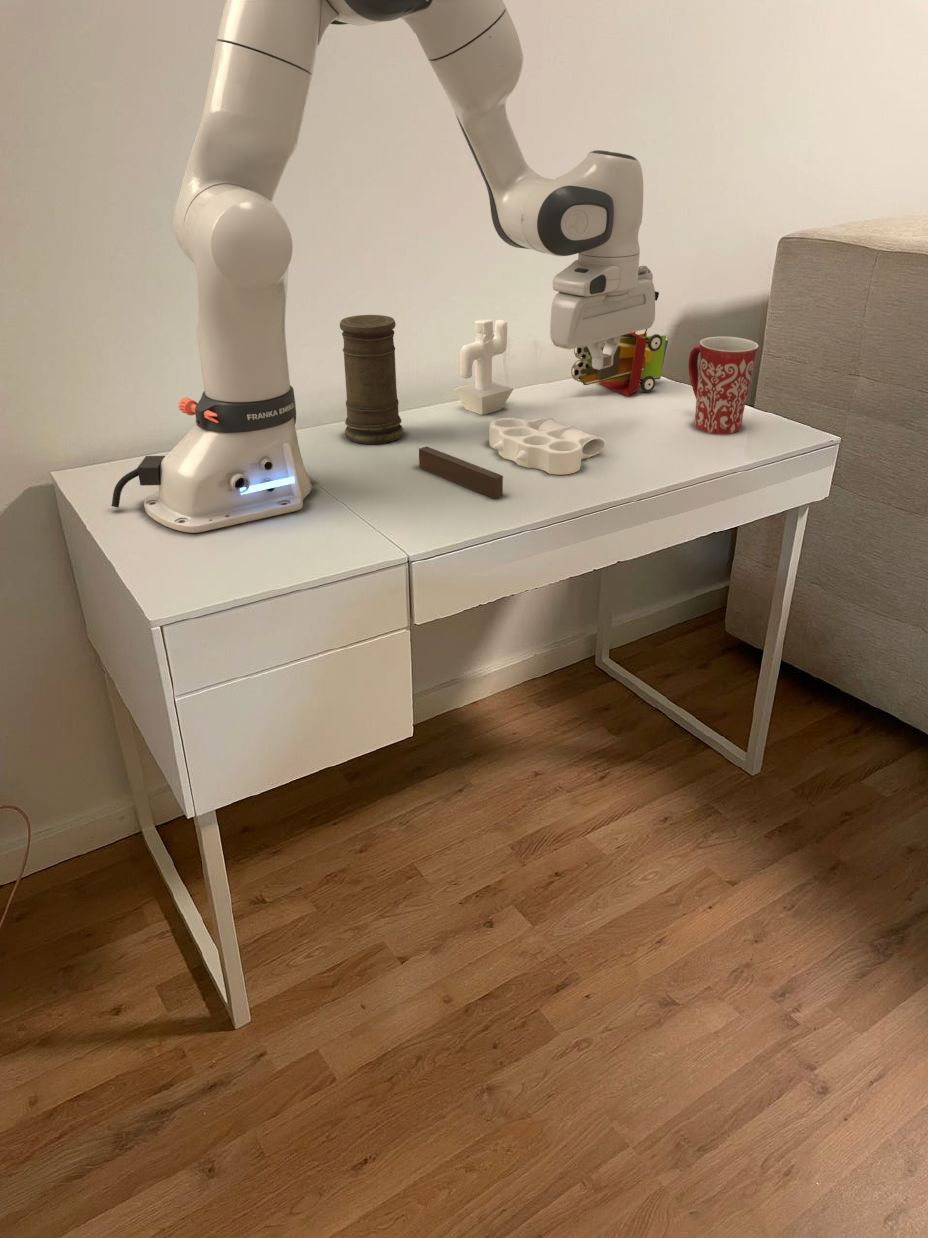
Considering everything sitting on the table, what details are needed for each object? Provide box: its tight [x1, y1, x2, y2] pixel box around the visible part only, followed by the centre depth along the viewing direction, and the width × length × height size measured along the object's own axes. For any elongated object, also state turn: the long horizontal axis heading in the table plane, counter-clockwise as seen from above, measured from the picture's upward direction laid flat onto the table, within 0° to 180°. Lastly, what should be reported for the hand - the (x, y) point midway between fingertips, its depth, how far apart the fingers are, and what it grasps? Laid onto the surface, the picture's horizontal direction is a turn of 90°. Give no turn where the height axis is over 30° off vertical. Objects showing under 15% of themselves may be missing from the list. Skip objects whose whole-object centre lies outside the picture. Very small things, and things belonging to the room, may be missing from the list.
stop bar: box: [418, 445, 504, 500], centre depth 136 cm, size 2×16×3 cm, turn 42°
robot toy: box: [570, 290, 669, 397], centre depth 172 cm, size 17×9×20 cm
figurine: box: [453, 318, 514, 416], centre depth 162 cm, size 7×9×15 cm
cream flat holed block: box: [488, 417, 606, 476], centre depth 146 cm, size 3×18×15 cm
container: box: [339, 314, 404, 445], centre depth 150 cm, size 9×9×18 cm
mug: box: [687, 336, 760, 435], centre depth 155 cm, size 13×9×14 cm
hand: (602, 367), depth 149 cm, fingers closed
